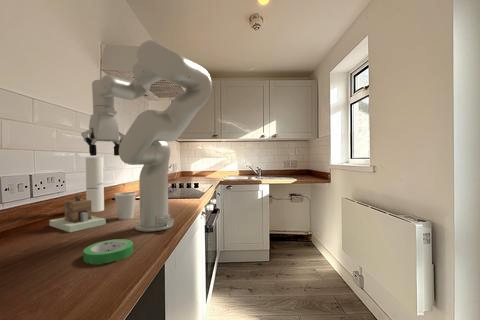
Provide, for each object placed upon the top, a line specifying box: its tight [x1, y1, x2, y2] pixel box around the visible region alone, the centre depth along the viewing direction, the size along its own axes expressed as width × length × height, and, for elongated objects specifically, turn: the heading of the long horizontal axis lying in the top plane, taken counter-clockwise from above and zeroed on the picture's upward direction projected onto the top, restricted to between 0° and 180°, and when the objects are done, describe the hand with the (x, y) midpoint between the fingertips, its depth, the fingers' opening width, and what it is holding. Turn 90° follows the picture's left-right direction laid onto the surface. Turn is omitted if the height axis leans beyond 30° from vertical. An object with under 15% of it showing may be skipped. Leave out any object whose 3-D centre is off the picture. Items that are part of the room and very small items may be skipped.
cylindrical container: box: [85, 156, 105, 213], centre depth 120 cm, size 7×7×25 cm
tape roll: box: [82, 238, 134, 265], centre depth 64 cm, size 11×11×3 cm
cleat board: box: [49, 212, 107, 233], centre depth 94 cm, size 16×12×5 cm
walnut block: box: [64, 196, 93, 223], centre depth 94 cm, size 7×6×8 cm
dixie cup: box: [113, 191, 137, 220], centre depth 105 cm, size 8×8×10 cm
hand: (105, 155), depth 101 cm, fingers open, 9 cm apart
